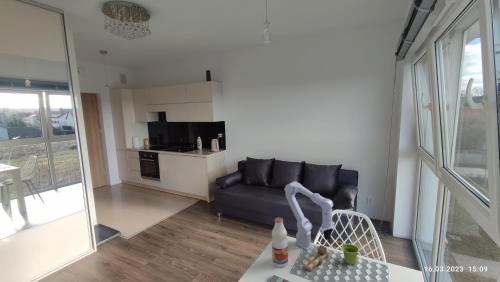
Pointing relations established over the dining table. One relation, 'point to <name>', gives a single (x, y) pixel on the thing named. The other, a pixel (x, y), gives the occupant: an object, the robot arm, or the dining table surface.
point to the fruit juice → (279, 244)
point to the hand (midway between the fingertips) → (327, 239)
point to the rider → (321, 250)
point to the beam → (314, 261)
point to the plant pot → (350, 253)
